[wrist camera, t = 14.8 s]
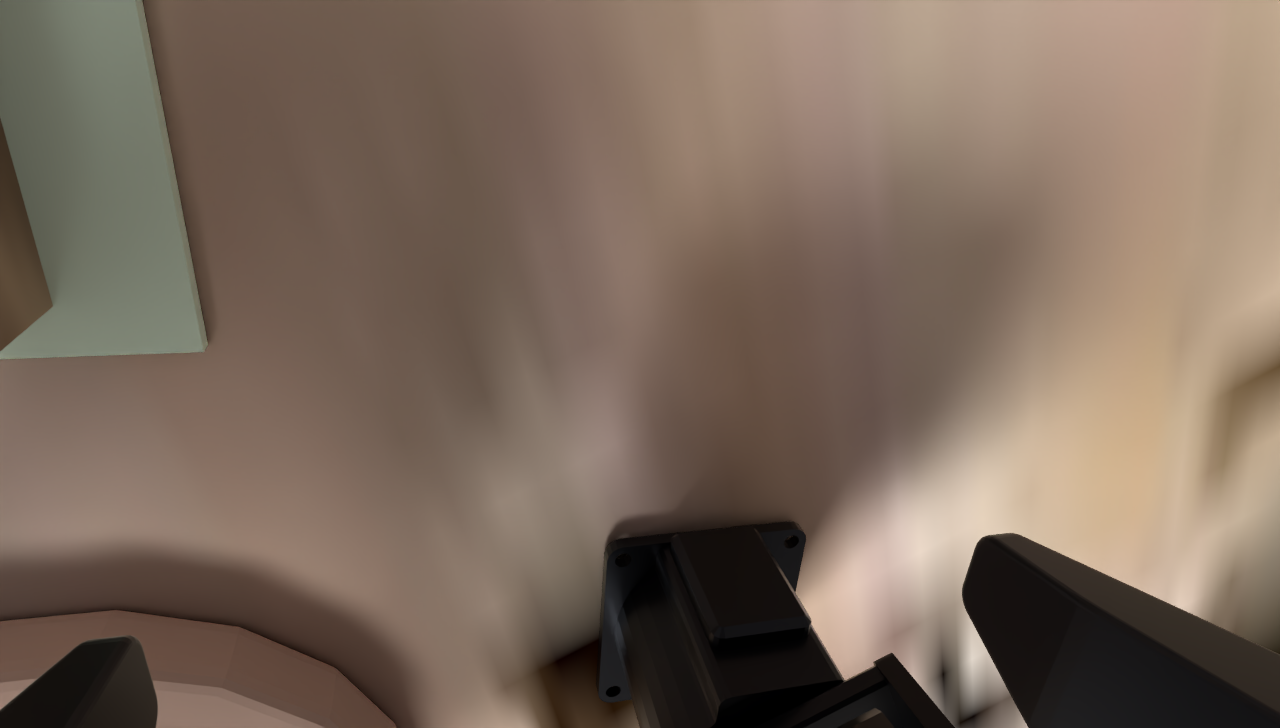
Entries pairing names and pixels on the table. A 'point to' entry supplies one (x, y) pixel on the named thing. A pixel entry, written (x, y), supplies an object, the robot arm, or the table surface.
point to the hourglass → (198, 672)
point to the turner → (17, 258)
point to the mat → (96, 181)
